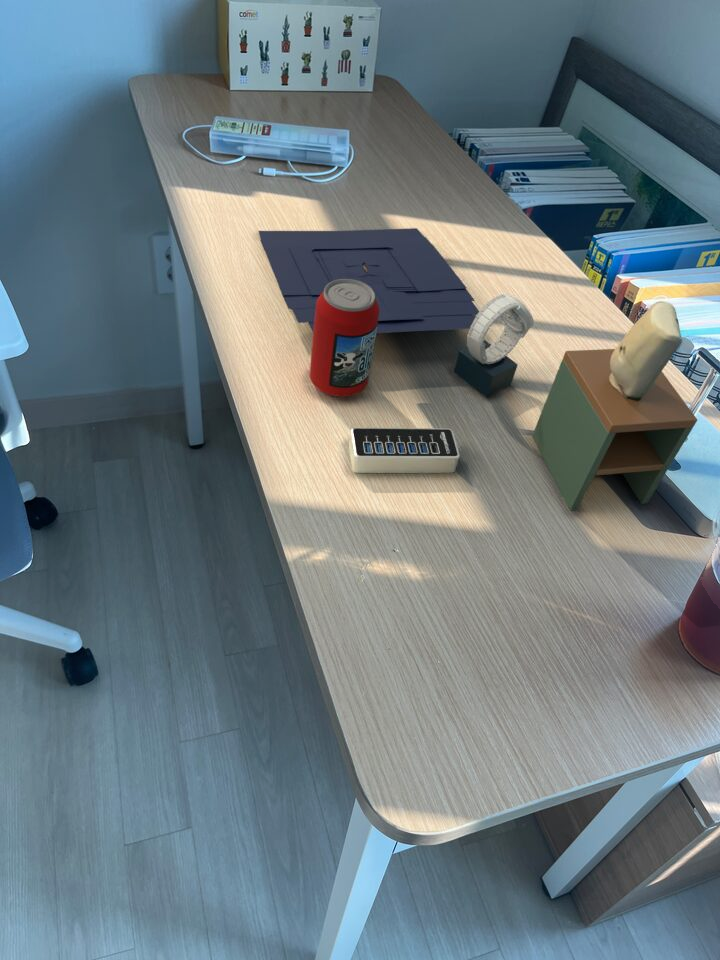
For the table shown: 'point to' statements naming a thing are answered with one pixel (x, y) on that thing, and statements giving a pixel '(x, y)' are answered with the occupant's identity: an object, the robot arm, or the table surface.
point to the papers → (371, 275)
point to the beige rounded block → (645, 351)
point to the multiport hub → (403, 450)
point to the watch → (493, 345)
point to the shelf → (608, 428)
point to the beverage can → (343, 337)
